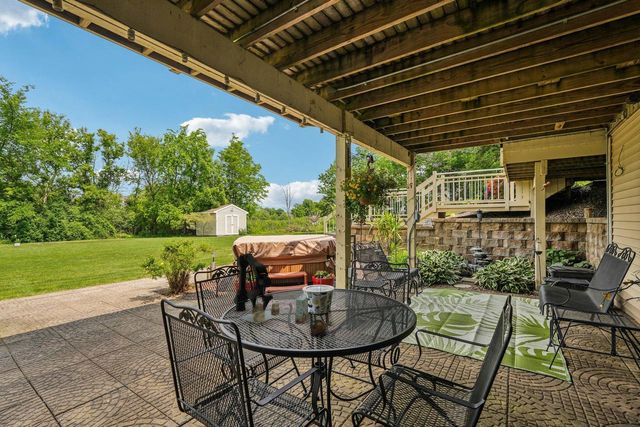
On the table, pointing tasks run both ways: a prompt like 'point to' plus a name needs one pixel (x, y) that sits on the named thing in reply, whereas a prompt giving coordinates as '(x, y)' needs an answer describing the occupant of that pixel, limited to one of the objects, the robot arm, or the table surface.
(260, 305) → the walnut block
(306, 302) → the snack box
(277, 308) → the tower
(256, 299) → the robot arm
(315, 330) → the decorative turtle
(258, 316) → the maple block
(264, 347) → the table surface
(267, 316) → the board
